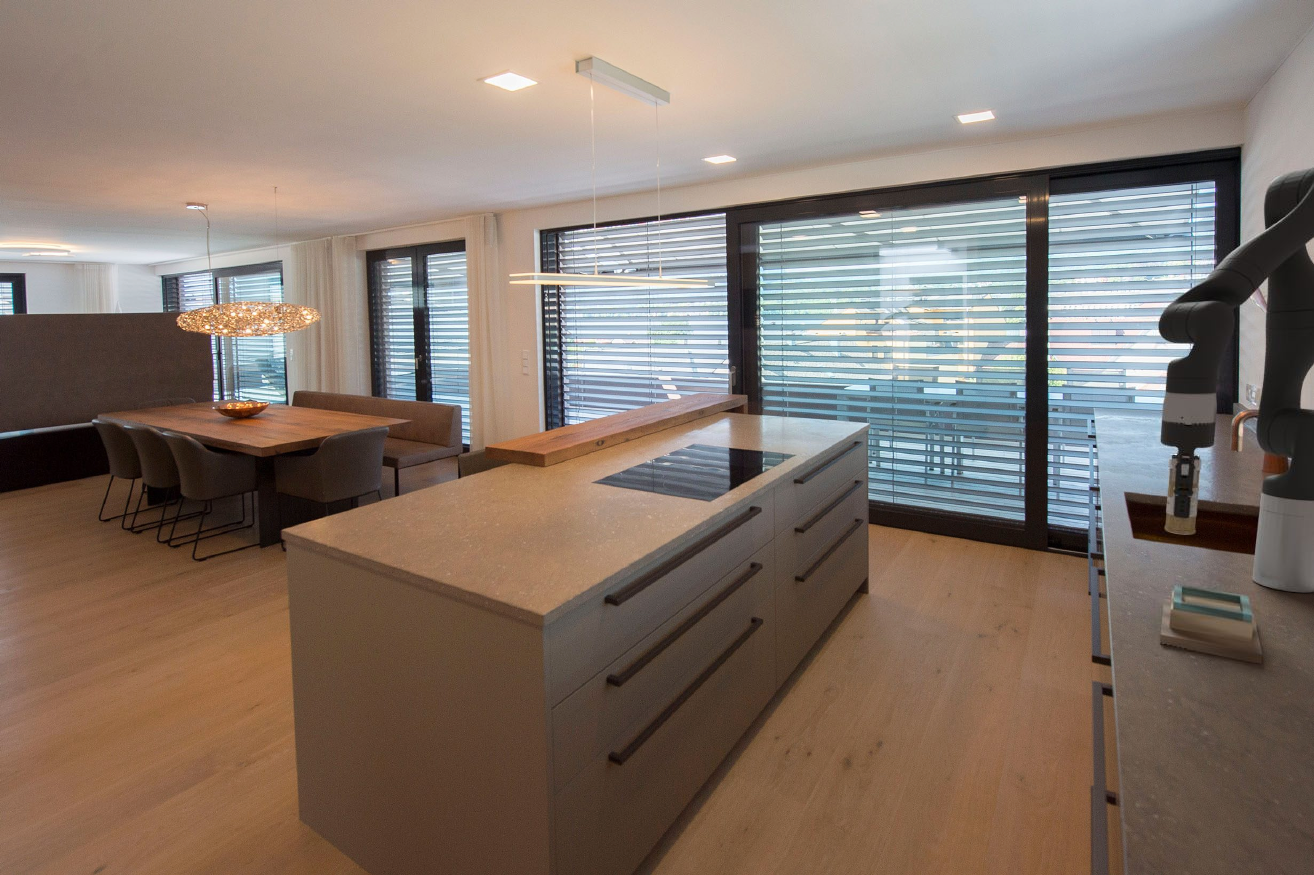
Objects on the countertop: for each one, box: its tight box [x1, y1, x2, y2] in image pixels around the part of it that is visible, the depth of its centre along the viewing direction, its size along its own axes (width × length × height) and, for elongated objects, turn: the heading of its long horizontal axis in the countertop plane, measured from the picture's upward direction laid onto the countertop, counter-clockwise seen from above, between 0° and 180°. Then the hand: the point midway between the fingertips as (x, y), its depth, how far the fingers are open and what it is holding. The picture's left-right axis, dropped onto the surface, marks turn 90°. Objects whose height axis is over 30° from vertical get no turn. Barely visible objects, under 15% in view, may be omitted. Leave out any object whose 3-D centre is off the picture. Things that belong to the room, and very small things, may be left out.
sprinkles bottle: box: [1164, 456, 1202, 536], centre depth 125 cm, size 5×5×14 cm
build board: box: [1159, 583, 1263, 665], centre depth 113 cm, size 18×12×6 cm, turn 143°
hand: (1181, 513), depth 125 cm, fingers closed on sprinkles bottle, 4 cm apart
